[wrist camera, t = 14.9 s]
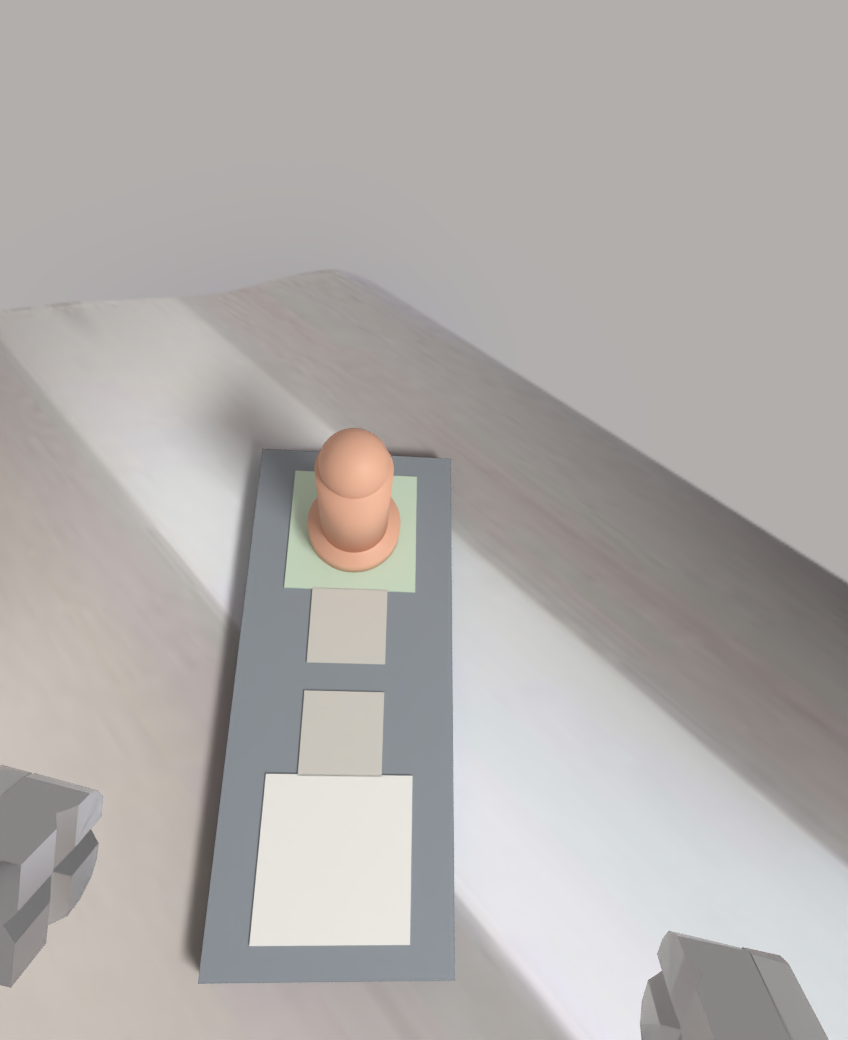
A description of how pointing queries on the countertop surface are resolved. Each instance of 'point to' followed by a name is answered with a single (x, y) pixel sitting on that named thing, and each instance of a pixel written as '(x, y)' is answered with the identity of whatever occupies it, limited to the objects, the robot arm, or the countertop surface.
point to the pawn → (354, 502)
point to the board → (339, 750)
